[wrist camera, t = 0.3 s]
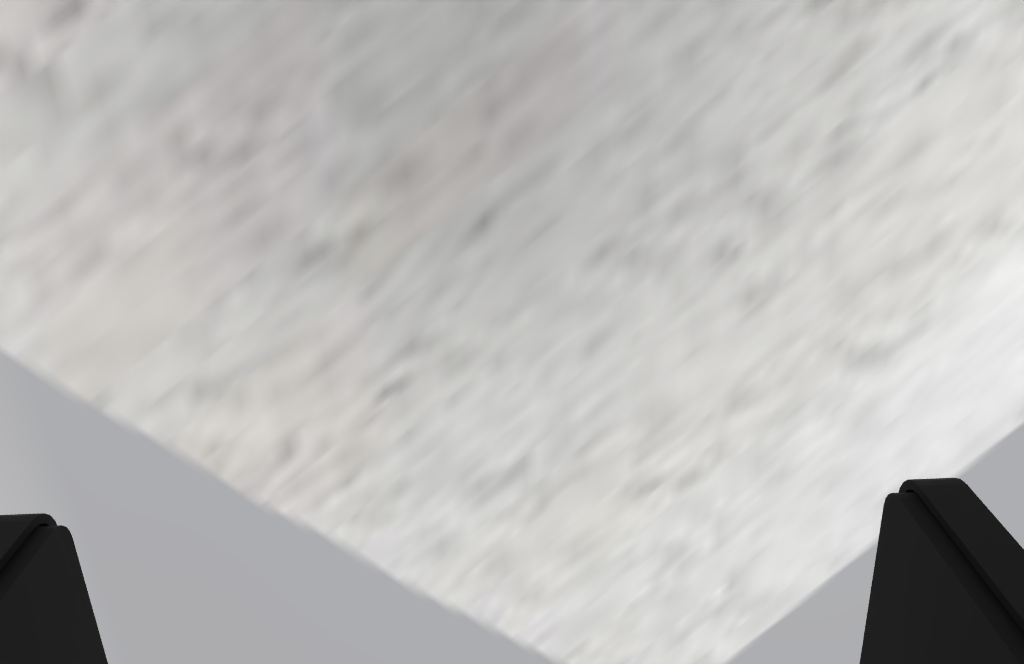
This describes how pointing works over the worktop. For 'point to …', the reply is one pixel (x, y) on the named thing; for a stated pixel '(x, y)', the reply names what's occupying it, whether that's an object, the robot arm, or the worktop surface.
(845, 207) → the worktop surface
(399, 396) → the worktop surface
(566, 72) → the worktop surface
